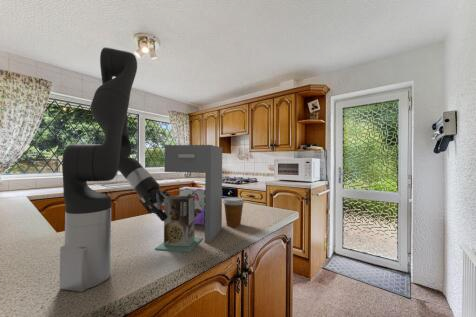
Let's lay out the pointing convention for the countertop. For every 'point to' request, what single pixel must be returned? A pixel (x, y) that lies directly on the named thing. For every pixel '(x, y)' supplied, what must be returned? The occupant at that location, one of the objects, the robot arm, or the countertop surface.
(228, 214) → the disposable coffee cup
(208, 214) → the grey tall hooked frame
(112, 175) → the robot arm
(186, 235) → the coffee box
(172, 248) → the mat
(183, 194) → the candy box
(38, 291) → the countertop surface
